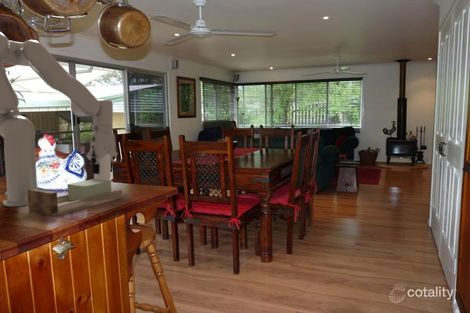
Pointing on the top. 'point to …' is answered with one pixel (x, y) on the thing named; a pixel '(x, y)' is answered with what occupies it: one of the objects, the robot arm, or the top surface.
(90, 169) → the brown textured cylinder
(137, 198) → the top surface
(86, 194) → the sliding block
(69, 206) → the channel
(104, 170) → the can
